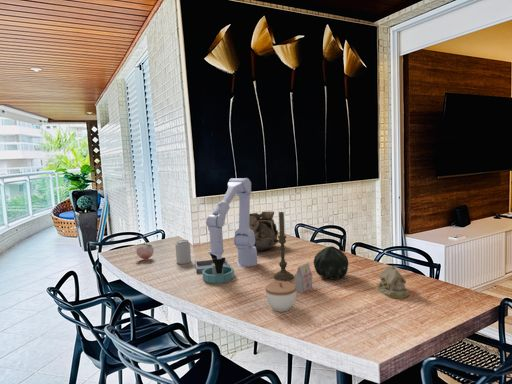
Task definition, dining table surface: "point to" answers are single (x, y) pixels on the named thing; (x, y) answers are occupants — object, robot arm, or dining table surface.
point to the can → (183, 252)
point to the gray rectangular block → (215, 270)
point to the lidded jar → (281, 295)
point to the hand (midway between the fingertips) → (218, 270)
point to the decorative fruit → (145, 251)
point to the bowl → (216, 279)
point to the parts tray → (206, 265)
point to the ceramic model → (392, 283)
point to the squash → (331, 263)
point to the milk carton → (303, 278)
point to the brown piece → (263, 230)
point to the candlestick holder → (282, 252)
